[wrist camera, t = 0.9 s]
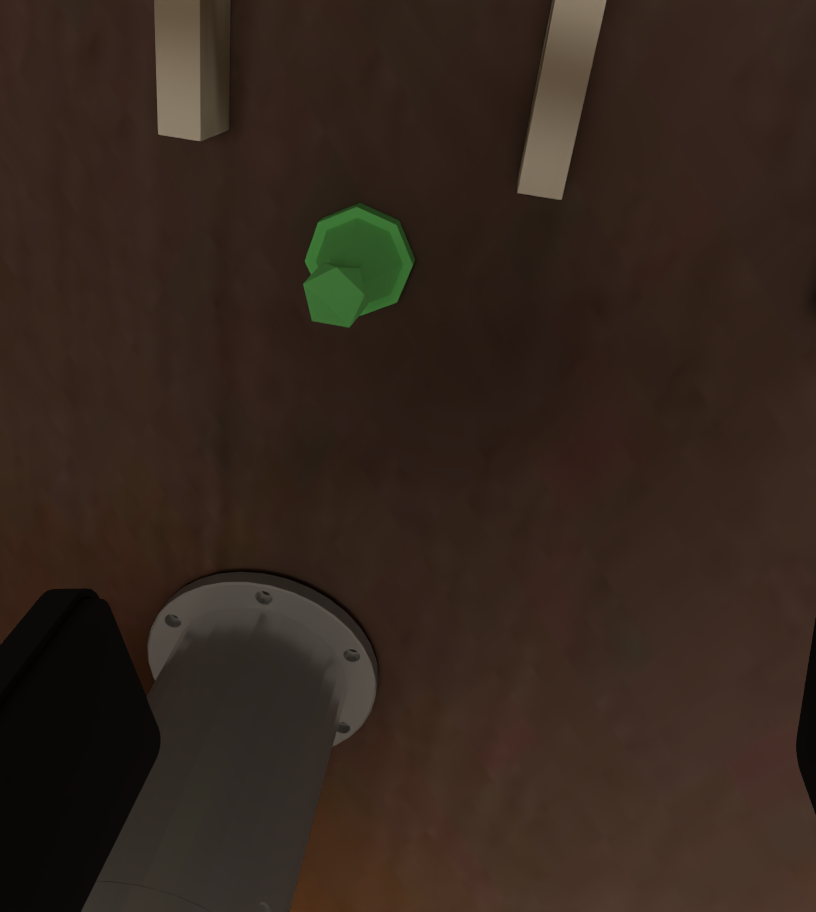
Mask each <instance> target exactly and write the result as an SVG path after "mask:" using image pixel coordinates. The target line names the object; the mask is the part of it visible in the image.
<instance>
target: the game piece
mask: <svg viewBox="0 0 816 912" xmlns="http://www.w3.org/2000/svg"><path fill="white" fill-rule="evenodd" d="M414 262H415V258H414V256H413V253H412V251H411V248H410V246H409V243H408V241H407V238H406V236H405V233H404V231H403V228H402V226H401V223H400V221H399V220H397V219H395V218H393V217H391V216H388V215H386V214H384V213H382V212H380V211H377V210H375V209H373V208H371V207H369V206H366V205H364V204H362V203H358V204H356V205H353V206H351V207H348V208H346V209H343V210H341V211H339V212H336V213H334V214H331V215H329V216H326V217H324V218H322V219H321V220H320V221H319V222H318V224H317V227H316V230H315V233H314V236H313V239H312V242H311V244H310V247H309V250H308V253H307V256H306V259H305V263H306V265H307V267H308V270H309V272H310V274H311V276H310V277H309V278H308V279H307V280H306V281H305V282H304V284H303V286H304V290H305V294H306V298H307V302H308V306H309V311H310V315H311V319H312V321H315V322H321V323H326V324H332V325H338V326H343V327H350V326H351V325H352V324H353V323H354V321H355V320H356V319H357V318H358V316H361V315H364V314H367V313H370V312H372V311H375V310H378V309H381V308H383V307H386V306H389V305H392V304H394V303H397V302H398V299H399V297H400V295H401V292H402V290H403V288H404V285H405V283H406V281H407V278H408V276H409V273H410V271H411V269H412V266H413V264H414Z"/></svg>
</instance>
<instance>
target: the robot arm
mask: <svg viewBox="0 0 816 912" xmlns="http://www.w3.org/2000/svg"><path fill="white" fill-rule="evenodd" d="M147 650H148V662H149V665H150V669H151V672H152V676H153V678H154V680H155V682H154V684H153V686H152V688H151V689H150V691H149V693H148V695H147V697H146V695H145V693H144V690H143V688H142V685H141V683H140V680H139V678H138V675H137V673H136V670H135V668H134V665H133V663H132V660H131V658H130V656H129V653H128V651H127V648H126V646H125V643H124V641H123V638H122V636H121V633H120V631H119V628H118V626H117V623H116V621H115V618H114V616H113V613H112V611H111V608H110V606H109V604H108V603H107V602H106V601H105V600H104V599H99V597H98V595H97V593H95V592H94V591H93V590H92V589H52V590H49V591H46V592H45V593H44V594H43V595H42V596H41V597H40V598H39V599H38V600H37V602H36V603H35V604H34V605H33V606H32V608H31V609H30V610H29V611H28V613H27V614H26V615H25V616H24V617H23V619H22V620H21V621H20V622H19V623H18V625H17V626H16V627H15V628H14V629H13V631H12V632H11V633H10V634H9V636H8V637H7V638H6V639H5V640H4V642H3V643H2V644H1V645H0V912H289V911H290V908H291V904H292V900H293V896H294V892H295V888H296V885H297V881H298V877H299V873H300V869H301V866H302V862H303V858H304V854H305V850H306V846H307V843H308V839H309V835H310V831H311V827H312V823H313V820H314V816H315V812H316V808H317V804H318V800H319V797H320V793H321V789H322V785H323V781H324V778H325V774H326V770H327V766H328V762H329V758H330V755H331V751H332V747H333V746H335V745H338V744H339V743H341V742H343V741H344V740H346V739H348V738H349V737H351V736H352V735H353V734H354V733H355V732H356V731H357V730H358V729H359V728H360V727H361V726H362V725H363V724H364V722H365V721H366V719H367V718H368V716H369V714H370V713H371V710H372V707H373V704H374V700H375V697H376V691H377V685H378V678H379V677H378V668H377V660H376V658H375V655H374V652H373V649H372V646H371V644H370V642H369V641H368V639H367V637H366V636H365V634H364V633H363V631H362V629H361V628H360V627H359V626H358V625H357V623H356V622H355V621H354V620H353V619H352V618H351V617H350V616H349V615H348V613H347V612H345V611H344V610H343V609H342V608H340V607H339V606H338V605H336V604H335V603H334V602H333V601H331V600H330V599H329V598H327V597H325V596H324V595H322V594H320V593H318V592H316V591H315V590H313V589H311V588H309V587H307V586H304V585H302V584H299V583H297V582H294V581H292V580H289V579H286V578H282V577H277V576H273V575H269V574H264V573H252V572H232V573H220V574H216V575H212V576H208V577H205V578H201V579H198V580H196V581H194V582H192V583H190V584H188V585H186V586H184V587H182V588H181V589H180V590H179V591H178V592H176V593H175V594H174V595H173V596H172V597H171V598H169V600H168V601H167V602H166V604H165V605H164V607H163V608H162V609H161V611H160V612H159V614H158V616H157V618H156V620H155V622H154V623H153V625H152V627H151V629H150V634H149V639H148V643H147ZM796 752H797V759H798V764H799V768H800V772H801V775H802V778H803V780H804V783H805V786H806V789H807V792H808V794H809V797H810V800H811V803H812V806H813V808H814V811H815V814H816V619H815V625H814V632H813V638H812V644H811V651H810V657H809V663H808V670H807V676H806V682H805V689H804V695H803V701H802V708H801V714H800V720H799V726H798V733H797V740H796Z"/></svg>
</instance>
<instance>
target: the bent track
mask: <svg viewBox="0 0 816 912" xmlns="http://www.w3.org/2000/svg"><path fill="white" fill-rule="evenodd" d="M605 5H606V0H552V5H551V10H550V15H549V20H548V25H547V30H546V35H545V41H544V46H543V51H542V56H541V61H540V66H539V71H538V77H537V82H536V87H535V92H534V97H533V102H532V107H531V113H530V118H529V123H528V128H527V133H526V138H525V143H524V149H523V154H522V159H521V164H520V169H519V174H518V190H517V193H521V194H527V195H533V196H539V197H545V198H552V199H558V200H562V196H563V192H564V187H565V183H566V178H567V174H568V169H569V165H570V160H571V156H572V152H573V147H574V143H575V138H576V134H577V129H578V125H579V120H580V116H581V112H582V107H583V103H584V98H585V94H586V89H587V85H588V80H589V76H590V71H591V67H592V63H593V58H594V54H595V49H596V45H597V40H598V36H599V31H600V27H601V23H602V18H603V14H604V9H605ZM154 11H155V44H156V78H157V111H158V134H159V135H165V136H171V137H177V138H183V139H189V140H196V141H203V140H205V139H208V138H210V137H213V136H215V135H218V134H220V133H223V132H225V131H228V130H229V94H230V19H231V0H154Z"/></svg>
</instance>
